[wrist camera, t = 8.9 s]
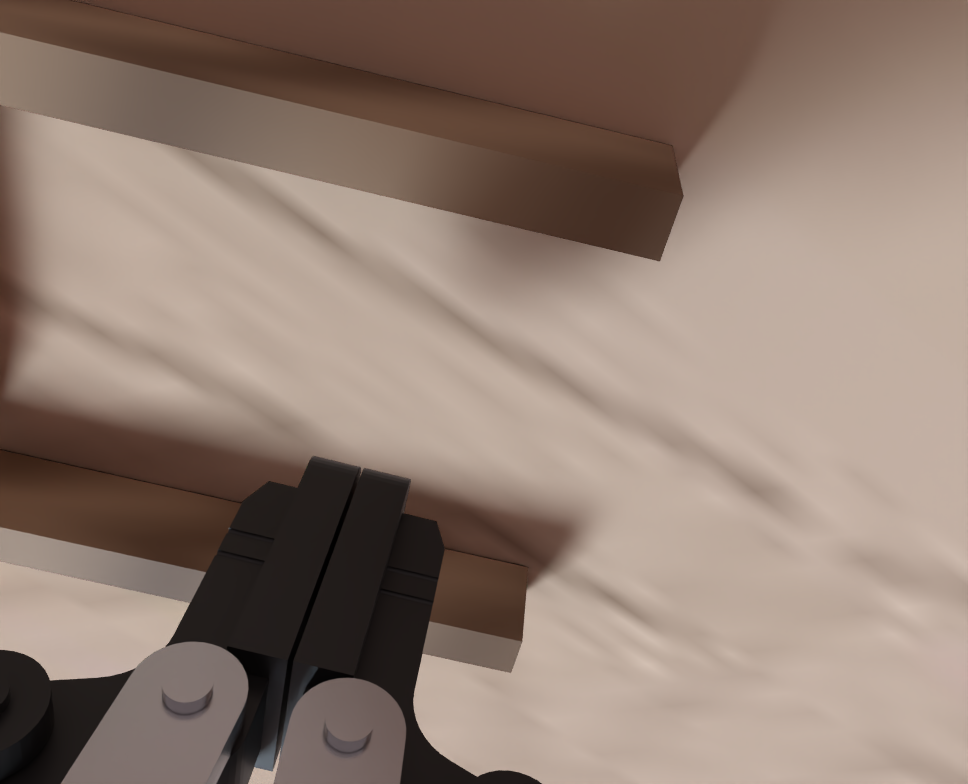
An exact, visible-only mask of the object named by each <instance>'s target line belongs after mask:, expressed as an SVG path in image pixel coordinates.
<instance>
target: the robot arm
mask: <svg viewBox="0 0 968 784" xmlns="http://www.w3.org/2000/svg"><path fill="white" fill-rule="evenodd" d="M360 473H361V468H360V467H357V466H353V465H349V464H345V463H341V462H337V461H333V460H328V459H324V458H320V457H316V456H313V457H312V458H311V460H310V462H309V464H308V466H307V468H306V470H305V473H304V475H303V477H302V479H301V482H300V484H299V486H298V488H295V487H291V486H287V485H283V484H279V483H275V482H270V481H269V482H267V483H266V484H265V485H263V486H262V487H261V488H259V489H258V490H257V491H256V492H254V493H253V494H252V495H250V496H249V497H248V498H246V499H245V500H244V501H243V502H242V504H241V506H240V508H239V510H238V512H237V514H236V516H235V518H234V520H233V521H232V523H231V525H230V527H229V531H228V533H226V535H225V537H224V539H223V541H222V543H221V545H220V547H219V549H218V552H217V555H215V556H214V558H213V560H212V562H211V564H210V566H209V568H208V570H207V572H206V574H205V576H204V578H203V579H202V581H201V583H200V585H199V587H198V589H197V591H196V593H195V595H194V597H193V599H192V601H191V603H190V605H189V606H188V608H187V610H186V612H185V614H184V616H183V618H182V620H181V622H180V624H179V626H178V628H177V630H176V632H175V634H174V635H173V637H172V638H171V640H170V642H169V643H168V644H167V645H166V647H164V648H162V649H160V650H158V651H156V652H154V653H152V654H151V655H150V656H148V657H147V658H145V659H144V660H143V661H142V662H141V663H140V664H139V665H138V666H137V667H136V668H135V669H133V670H130V671H128V672H125V673H122V674H118V675H114V676H109V677H100V678H86V679H69V680H52V681H50V680H49V677H48V675H47V673H46V671H45V670H44V668H43V667H42V666H41V665H40V664H39V663H38V662H37V661H35V660H34V659H33V658H31V657H29V656H27V655H25V654H21V653H18V652H15V651H7V650H0V784H248V782H249V780H250V777H251V774H252V771H253V769H254V767H256V768H260V769H265V770H269V771H273V768H274V765H275V762H276V759H277V757H278V754H279V751H280V748H281V751H280V758H279V764H278V768H277V772H276V776H275V780H274V784H541V783H540V782H539V781H537V780H535V779H533V778H532V777H530V776H527V775H525V774H522V773H519V772H514V771H500V770H499V771H493V772H488V773H485V774H482V775H480V776H478V777H476V776H475V775H473V774H471V773H470V772H468V771H466V770H465V769H463V768H461V767H460V766H458V765H456V764H455V763H453V762H451V761H450V760H448V759H447V758H445V757H444V756H443V755H441V754H440V753H439V752H438V751H437V750H435V749H434V748H433V747H432V746H431V744H430V743H429V742H428V741H427V740H426V738H425V737H424V735H423V733H422V732H421V730H420V728H419V726H418V723H417V721H416V718H415V713H414V706H413V697H414V690H415V685H416V681H417V676H418V671H419V667H420V662H421V658H422V653H423V648H424V644H425V639H426V634H427V630H428V625H429V621H430V616H431V611H432V606H433V602H434V597H435V593H436V588H437V584H438V579H439V574H440V570H441V565H442V560H443V556H444V551H445V548H444V545H443V542H442V538H441V535H440V532H439V528H438V525H437V522H436V521H433V520H429V519H424V518H420V517H416V516H412V515H408V514H404V510H405V506H406V501H407V497H408V492H409V487H410V482H411V479H408V478H403V477H399V476H395V475H391V474H387V473H383V472H379V471H375V470H371V469H366V468H364V469H363V471H362V474H361V476H360Z"/></svg>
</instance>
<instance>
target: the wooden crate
mask: <svg viewBox="0 0 968 784" xmlns="http://www.w3.org/2000/svg"><path fill="white" fill-rule="evenodd" d="M0 105H2V106H6V107H10V108H15V109H19V110H23V111H27V112H31V113H36V114H40V115H44V116H48V117H53V118H57V119H61V120H65V121H69V122H74V123H78V124H82V125H86V126H91V127H95V128H99V129H103V130H107V131H112V132H116V133H120V134H124V135H129V136H133V137H137V138H141V139H145V140H150V141H154V142H158V143H162V144H167V145H171V146H175V147H179V148H183V149H188V150H192V151H196V152H200V153H205V154H209V155H213V156H217V157H221V158H226V159H230V160H234V161H238V162H243V163H247V164H251V165H255V166H259V167H264V168H268V169H272V170H276V171H281V172H285V173H289V174H293V175H297V176H302V177H306V178H310V179H314V180H319V181H323V182H327V183H331V184H335V185H340V186H344V187H348V188H352V189H357V190H361V191H365V192H369V193H373V194H378V195H382V196H386V197H390V198H395V199H399V200H403V201H407V202H411V203H416V204H420V205H424V206H428V207H433V208H437V209H441V210H445V211H449V212H454V213H458V214H462V215H466V216H471V217H475V218H479V219H483V220H487V221H492V222H496V223H500V224H504V225H509V226H513V227H517V228H521V229H525V230H530V231H534V232H538V233H542V234H547V235H551V236H555V237H559V238H563V239H568V240H572V241H576V242H580V243H585V244H589V245H593V246H597V247H601V248H606V249H610V250H614V251H618V252H623V253H627V254H631V255H635V256H639V257H644V258H648V259H652V260H656V261H660V259H661V257H662V254H663V251H664V248H665V246H666V243H667V240H668V237H669V234H670V232H671V229H672V226H673V223H674V221H675V218H676V215H677V212H678V210H679V207H680V204H681V201H682V199H683V192H682V187H681V183H680V178H679V174H678V169H677V165H676V160H675V156H674V151H673V147H672V146H671V145H667V144H663V143H658V142H654V141H650V140H646V139H642V138H638V137H634V136H630V135H625V134H621V133H617V132H613V131H609V130H605V129H601V128H596V127H592V126H588V125H584V124H580V123H576V122H572V121H568V120H563V119H559V118H555V117H551V116H547V115H543V114H539V113H534V112H530V111H526V110H522V109H518V108H514V107H510V106H505V105H501V104H497V103H493V102H489V101H485V100H481V99H477V98H472V97H468V96H464V95H460V94H456V93H452V92H448V91H443V90H439V89H435V88H431V87H427V86H423V85H419V84H415V83H410V82H406V81H402V80H398V79H394V78H390V77H386V76H381V75H377V74H373V73H369V72H365V71H361V70H357V69H352V68H348V67H344V66H340V65H336V64H332V63H328V62H324V61H319V60H315V59H311V58H307V57H303V56H299V55H295V54H290V53H286V52H282V51H278V50H274V49H270V48H266V47H262V46H257V45H253V44H249V43H245V42H241V41H237V40H233V39H228V38H224V37H220V36H216V35H212V34H208V33H204V32H199V31H195V30H191V29H187V28H183V27H179V26H175V25H171V24H166V23H162V22H158V21H154V20H150V19H146V18H142V17H137V16H133V15H129V14H125V13H121V12H117V11H113V10H109V9H104V8H100V7H96V6H92V5H88V4H84V3H80V2H75V1H71V0H0ZM240 506H241V503H236V502H232V501H227V500H223V499H218V498H214V497H209V496H205V495H200V494H196V493H191V492H187V491H182V490H178V489H174V488H169V487H165V486H160V485H156V484H151V483H147V482H142V481H138V480H133V479H129V478H124V477H120V476H115V475H111V474H106V473H102V472H97V471H93V470H88V469H84V468H79V467H75V466H70V465H66V464H61V463H57V462H52V461H48V460H43V459H39V458H34V457H30V456H25V455H21V454H16V453H12V452H7V451H3V450H0V562H5V563H10V564H14V565H19V566H23V567H28V568H32V569H37V570H42V571H46V572H51V573H55V574H60V575H65V576H69V577H74V578H78V579H83V580H88V581H92V582H97V583H101V584H106V585H110V586H115V587H120V588H124V589H129V590H133V591H138V592H143V593H147V594H152V595H156V596H161V597H165V598H170V599H175V600H179V601H184V602H188V603H191V601H192V599H193V597H194V595H195V593H196V591H197V589H198V587H199V585H200V583H201V581H202V579H203V578H204V576H205V574H206V572H207V570H208V568H209V566H210V564H211V562H212V560H213V558H214V556H215V555H217V552H218V549H219V547H220V545H221V543H222V541H223V539H224V537H225V535H226V533H228V531H229V527H230V525H231V523H232V521H233V520H234V518H235V516H236V514H237V512H238V510H239V508H240ZM527 576H528V567H524V566H519V565H515V564H510V563H506V562H501V561H497V560H492V559H488V558H483V557H479V556H474V555H470V554H465V553H461V552H456V551H452V550H447V549H445V551H444V556H443V560H442V565H441V570H440V574H439V579H438V584H437V588H436V593H435V597H434V602H433V606H432V611H431V616H430V621H429V625H428V630H427V634H426V639H425V644H424V648H423V653H422V654H427V655H431V656H436V657H441V658H445V659H450V660H454V661H459V662H464V663H468V664H473V665H477V666H482V667H486V668H491V669H496V670H500V671H505V672H509V673H511V671H512V669H513V666H514V663H515V660H516V658H517V655H518V652H519V649H520V647H521V644H522V638H523V626H524V614H525V601H526V589H527Z"/></svg>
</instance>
